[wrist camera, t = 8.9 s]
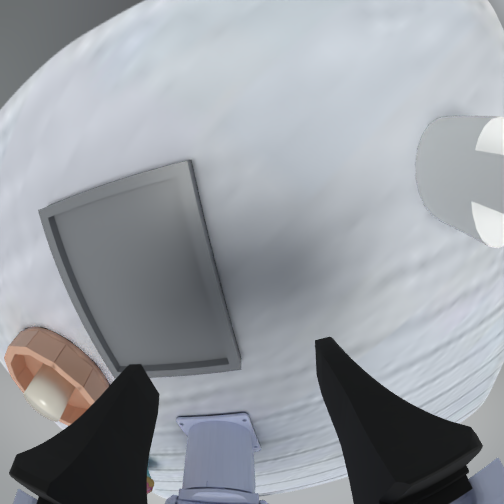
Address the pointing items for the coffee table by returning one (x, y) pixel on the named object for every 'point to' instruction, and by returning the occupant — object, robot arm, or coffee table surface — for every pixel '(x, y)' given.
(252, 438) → the robot arm
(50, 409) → the smooth grey cylinder
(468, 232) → the grey white cylinder
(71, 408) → the terracotta bowl
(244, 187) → the coffee table surface
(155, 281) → the parts tray
